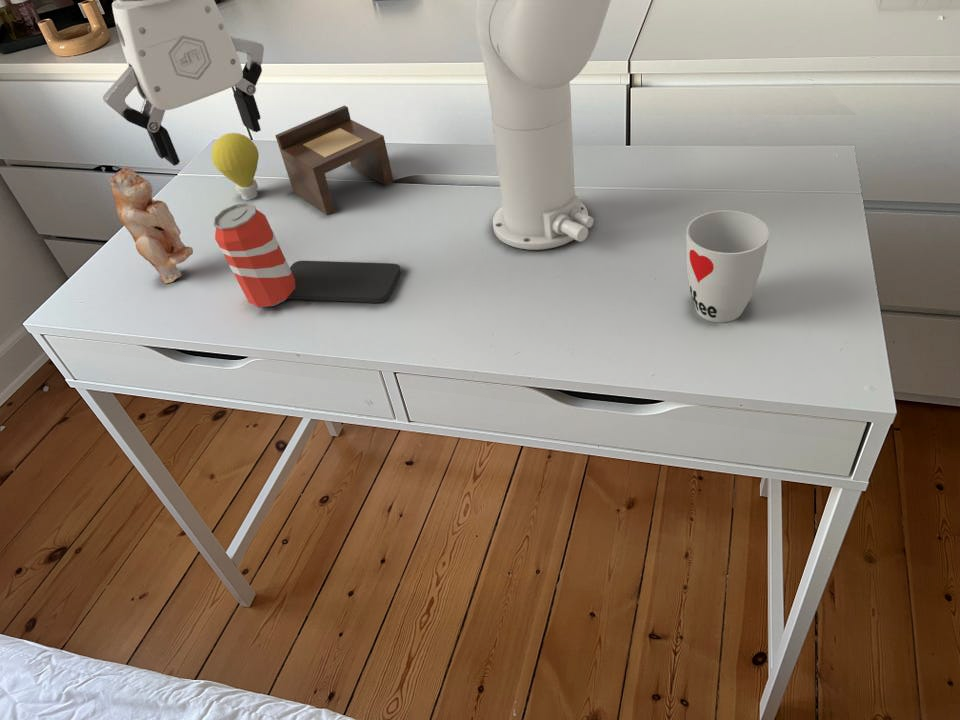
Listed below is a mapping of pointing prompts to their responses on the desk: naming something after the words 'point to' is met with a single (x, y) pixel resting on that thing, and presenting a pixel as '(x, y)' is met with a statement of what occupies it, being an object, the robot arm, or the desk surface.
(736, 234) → the cup
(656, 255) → the desk surface
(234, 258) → the beverage can
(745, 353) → the desk surface
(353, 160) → the miniature wooden desk
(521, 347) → the desk surface
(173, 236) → the figurine
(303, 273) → the phone
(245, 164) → the light bulb
